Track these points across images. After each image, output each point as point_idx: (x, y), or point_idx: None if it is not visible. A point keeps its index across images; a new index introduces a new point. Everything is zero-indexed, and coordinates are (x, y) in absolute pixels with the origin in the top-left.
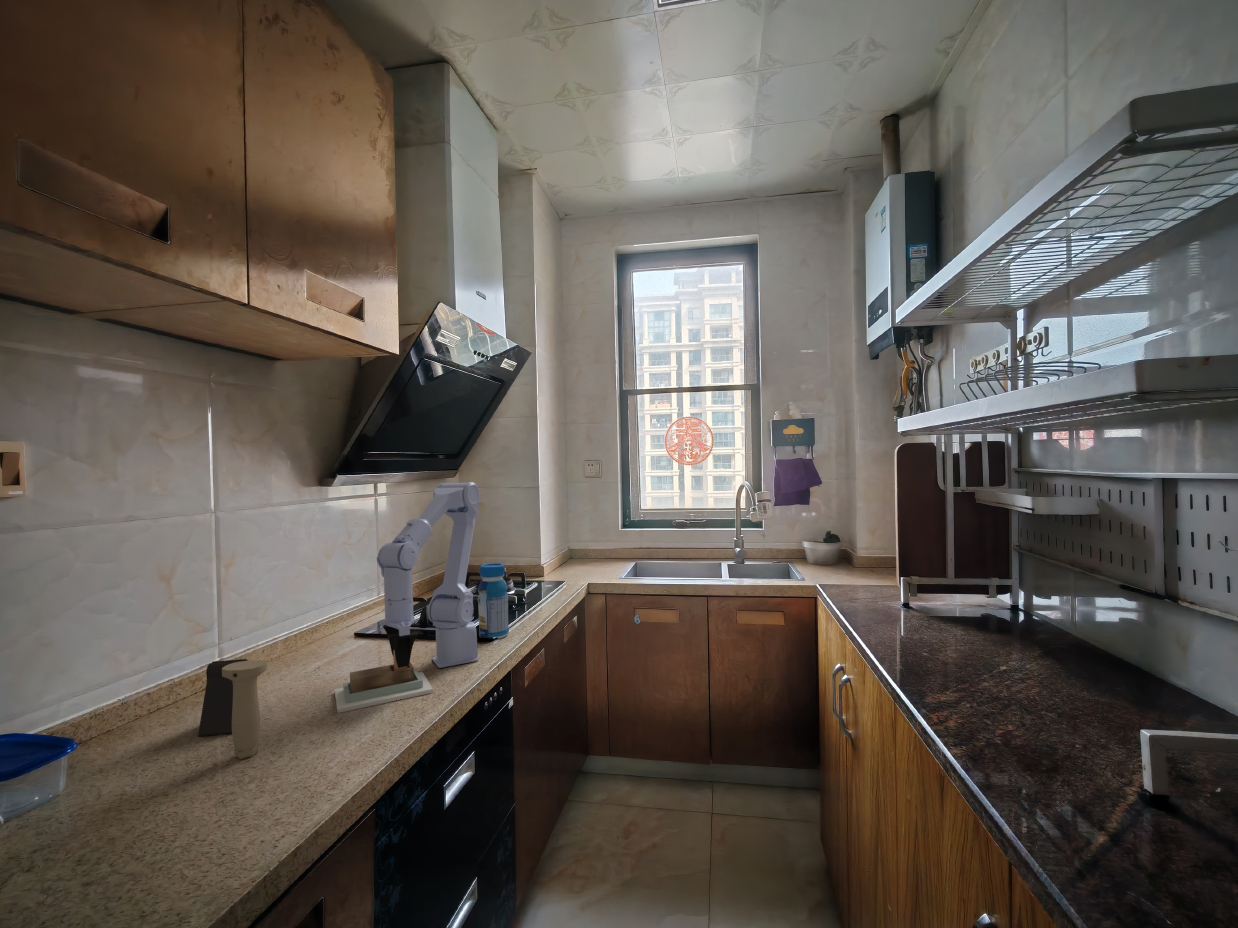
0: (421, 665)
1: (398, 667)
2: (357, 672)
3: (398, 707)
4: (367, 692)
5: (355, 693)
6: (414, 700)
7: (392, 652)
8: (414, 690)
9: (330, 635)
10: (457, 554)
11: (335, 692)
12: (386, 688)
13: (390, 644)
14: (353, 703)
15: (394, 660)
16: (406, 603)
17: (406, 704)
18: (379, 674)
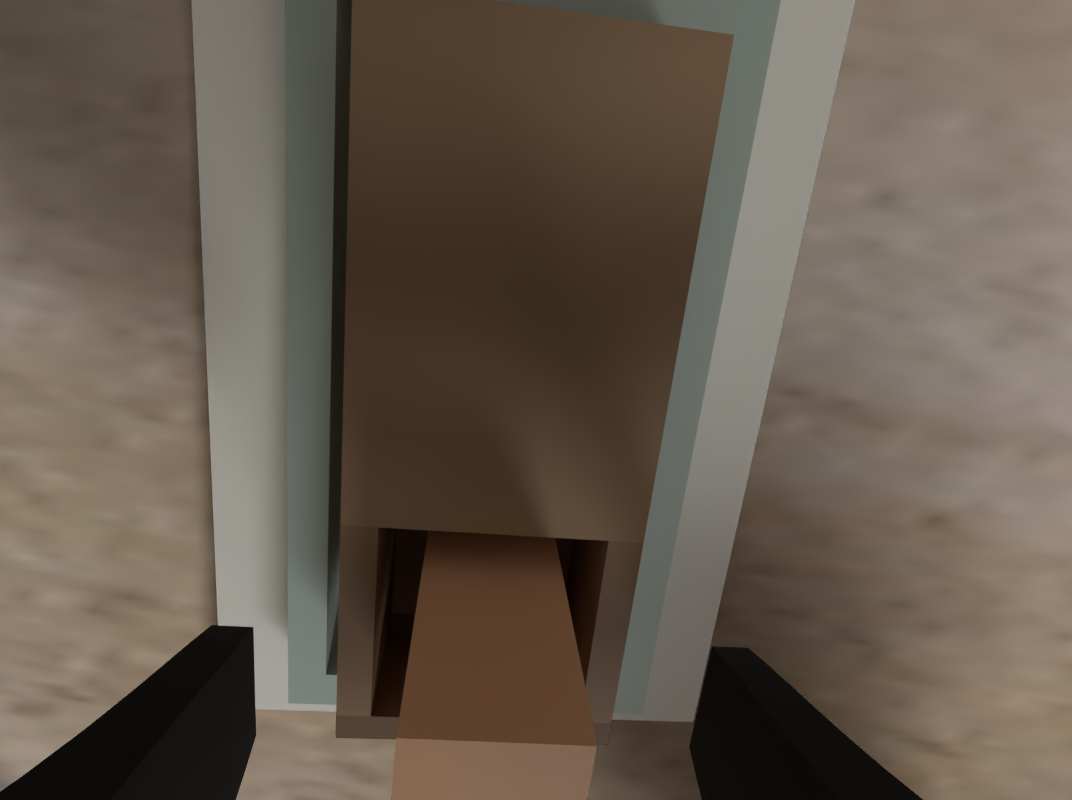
0: (915, 733)
1: (213, 625)
2: (648, 138)
3: (38, 403)
4: (290, 193)
5: (306, 55)
6: (138, 541)
7: (738, 687)
8: (274, 589)
9: None
10: None
11: None
12: (287, 389)
13: (815, 774)
14: (258, 31)
15: (453, 640)
16: None
17: (77, 471)
18: (349, 380)
